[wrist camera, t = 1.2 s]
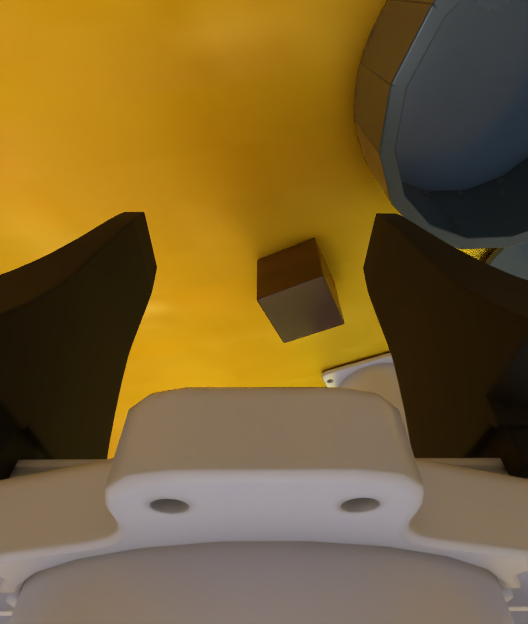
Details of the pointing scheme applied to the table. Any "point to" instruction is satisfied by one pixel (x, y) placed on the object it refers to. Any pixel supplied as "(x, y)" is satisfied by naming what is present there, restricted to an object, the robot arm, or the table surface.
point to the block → (298, 292)
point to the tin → (449, 117)
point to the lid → (511, 260)
